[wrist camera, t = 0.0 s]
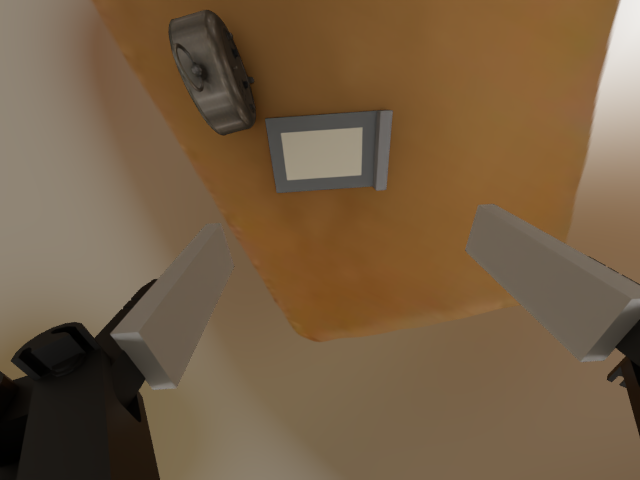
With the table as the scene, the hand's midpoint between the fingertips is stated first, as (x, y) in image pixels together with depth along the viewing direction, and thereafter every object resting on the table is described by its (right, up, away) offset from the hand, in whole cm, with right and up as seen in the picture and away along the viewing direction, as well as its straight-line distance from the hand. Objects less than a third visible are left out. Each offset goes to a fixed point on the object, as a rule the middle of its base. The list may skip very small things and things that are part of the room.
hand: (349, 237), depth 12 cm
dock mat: (-1, +13, +25) cm, 28 cm away
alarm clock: (-13, +21, +20) cm, 32 cm away
